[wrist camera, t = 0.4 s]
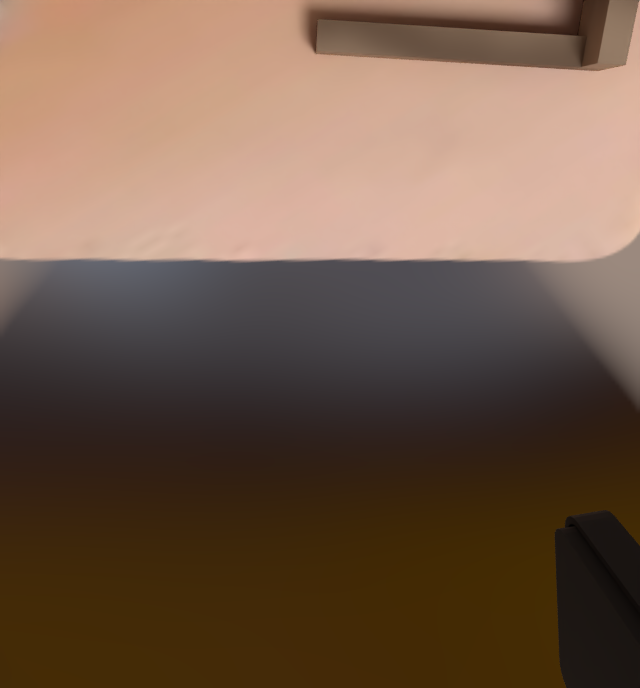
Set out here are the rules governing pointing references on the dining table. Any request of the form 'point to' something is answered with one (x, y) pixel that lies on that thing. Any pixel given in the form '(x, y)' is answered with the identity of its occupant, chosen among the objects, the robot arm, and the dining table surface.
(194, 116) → the dining table surface
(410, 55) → the lane rack
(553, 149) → the dining table surface
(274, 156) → the dining table surface
